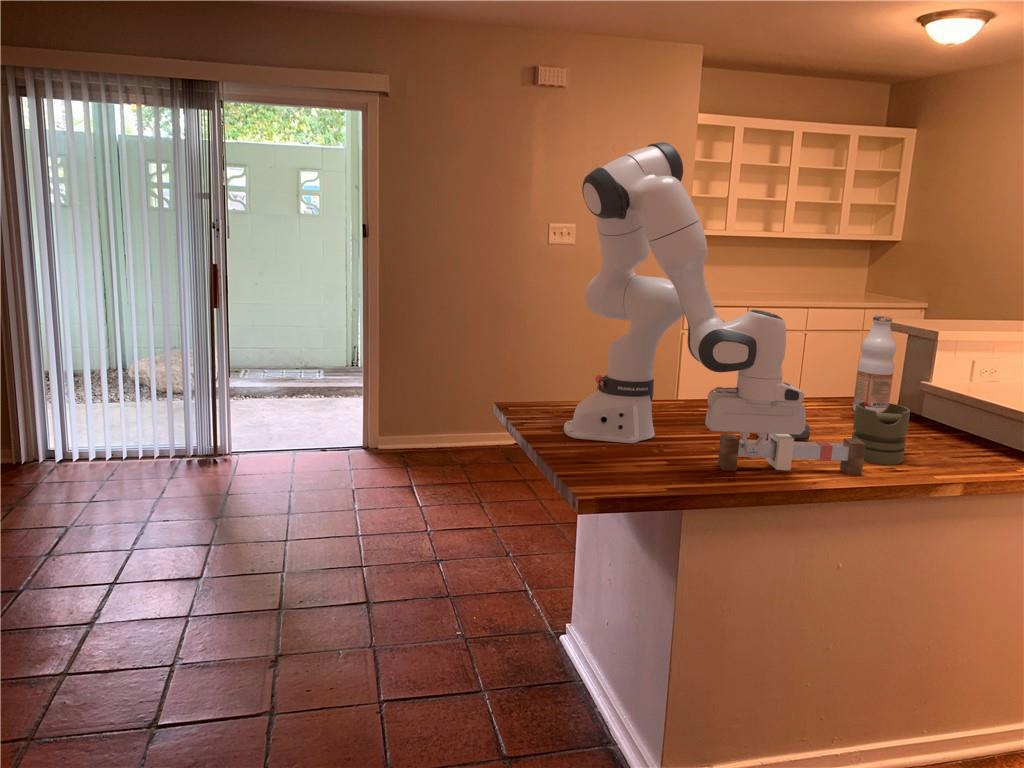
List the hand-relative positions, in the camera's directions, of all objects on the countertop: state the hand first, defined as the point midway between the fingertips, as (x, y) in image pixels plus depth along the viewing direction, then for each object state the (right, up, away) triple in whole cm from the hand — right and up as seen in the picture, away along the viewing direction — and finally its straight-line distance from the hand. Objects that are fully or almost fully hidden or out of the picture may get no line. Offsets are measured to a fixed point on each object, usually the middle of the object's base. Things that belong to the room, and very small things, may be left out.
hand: (751, 452), depth 164 cm
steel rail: (+10, -1, +4) cm, 10 cm away
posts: (+9, -4, +4) cm, 11 cm away
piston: (+34, -3, +16) cm, 38 cm away
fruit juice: (+53, +6, +61) cm, 82 cm away
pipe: (+16, 0, +29) cm, 33 cm away
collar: (+7, -4, +4) cm, 9 cm away
